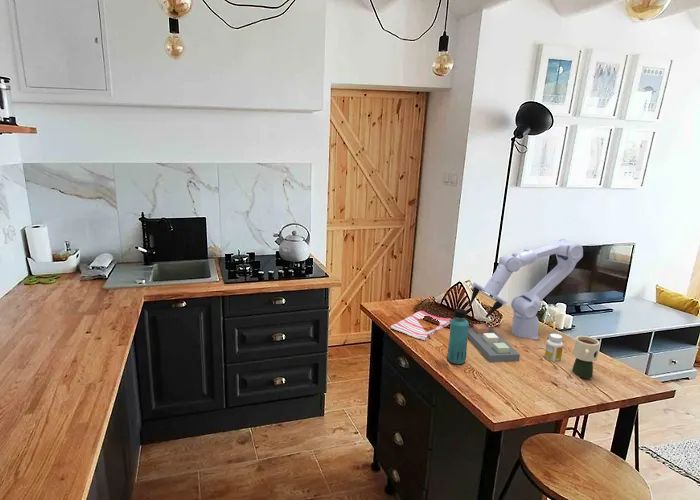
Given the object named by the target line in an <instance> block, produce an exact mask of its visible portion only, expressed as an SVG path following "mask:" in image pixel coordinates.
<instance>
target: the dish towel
mask: <svg viewBox="0 0 700 500" xmlns="http://www.w3.org/2000/svg"><path fill="white" fill-rule="evenodd" d="M424 316H430V317H432V318H433V319H436V320H435V321H437V320H438V321H439V322H438V321H437V322H438V323H439V325H438V326H436V327H435V328H434V329H429V330H428V331H427V330H426V329H425V328H424V326H423V325H422V323H421V322H420V320H423V318H424ZM433 319H432V320H433ZM452 319H453V318H449V317H447V318H445V317H438V316H436V315H432V314H429V313H428V312H426V311H424V310H419V311H417V312H415V313H413V314H412V315H410V316H408V317H406V318H404V319H401V320H399V321H398V322H397V323H394V324H391V325H390V329H391V330H393V329H394V330H393V331H395V330H396V331H395V332H397V331H399V332H398V333H400V332H402V333H401V334H403V333H405V334H407V335H406V336H408V335H409V336H408V337H410V336H412V337H411V338H413V337H415V338H417V340H419V339H421V340H420V341H422V340H424V341H423V342H426V341H427V340H426V339H427V338H429V339H431V335H434V334H435V333H436V332H438V331H441V329H444V328H445V327H447V326H449V325H450V324H451V323H450V322H451V320H452ZM405 334H404V335H405ZM415 338H414V339H415ZM425 340H426V341H425Z"/></svg>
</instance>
